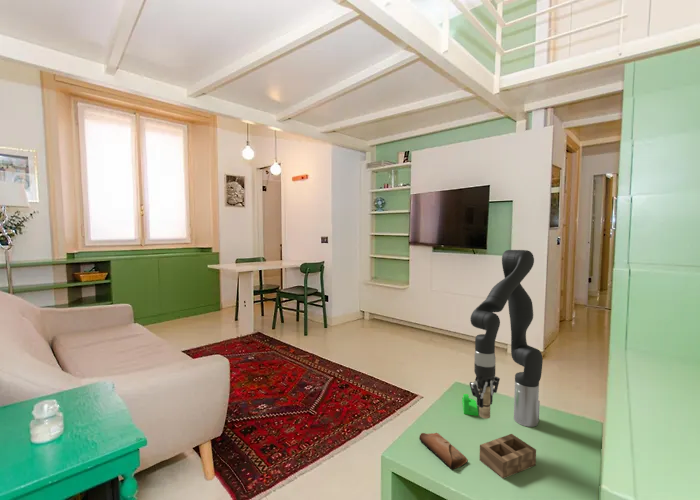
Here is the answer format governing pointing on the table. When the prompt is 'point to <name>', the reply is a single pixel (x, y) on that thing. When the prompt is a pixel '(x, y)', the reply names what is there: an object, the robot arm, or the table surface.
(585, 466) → the table surface
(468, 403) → the mechanical part
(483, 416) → the peg
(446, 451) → the sunglasses case
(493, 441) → the brown wooden box
